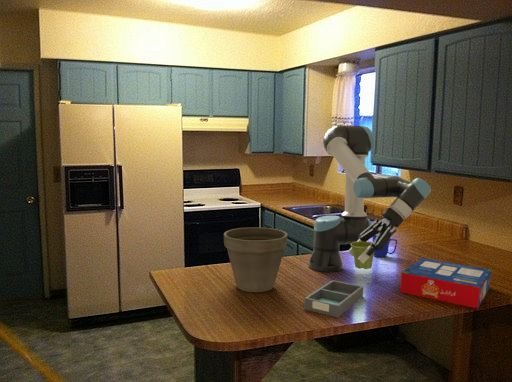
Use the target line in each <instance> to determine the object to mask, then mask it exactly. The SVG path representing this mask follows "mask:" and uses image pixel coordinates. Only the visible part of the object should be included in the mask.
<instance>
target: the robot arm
mask: <svg viewBox="0 0 512 382" xmlns="http://www.w3.org/2000/svg"><path fill="white" fill-rule="evenodd" d="M374 136H375V135H374V133H373V132H372V130H371V129H370V128H369V127H368V126H363V125H342V124H340V125H339V124H338V125H334V126H332V127H330V128H329V129H327V131H325V134H324V136H323V140H322V145H323V147H324V151H326V152H327V154H328V155H329V156H330V157H332V158H334V159H335V160H336V162H337V163H338V164H339V166H340V167H341V168H342V170H343V171H344V172H345V180H344V181H345V185H344V187H345V188H344V191H345V192H344V211H343V212H342V213H340V214H341V217H340V216H338V215H324V216H323V215H322V216H319V217H317V218H316V219H315V221H314V227H313V251H312V253H311V256H310V259H309V261H308V267H309V268H310V269H312V270H313V271H317V272H323V273H324V272H326V273H333V272H340V271H341V270H342V269H343V261H342V257H341V253H340V246H341V245H351V243H353V242H362V241H363V242H369V240H370V239H373V236H375V235H377V237H376V239H375V240H374V242H373V241H372V243H373V244H370V245H371V246H372V247H371V246H369V247H368V248H367V249H366V250H365V251H364V252H363V253H362V254H361V255H360V256H359V257H358V259H359V260H360V261H361V262H362V263H363V264H364V263H365V262H366V260H367V259H368V258H369V257H370V256H371V255H372V254H373V253H374V252H375V251H377V250H379V251H380V250H382V248H383V247H384V246H385V244H386V243H387V242H388V240H389V239H391V237H392V236H393V235H394V234H395V233H396V232H397V229H396V228H399V227H400V226H401V224H402V223H404V220H406V219H407V218H408V217H410V216H411V214H412V213H413V212H414V211H415V209H416V208H417V207H419V205H420V204H422V203H423V201H424V200H426V198H427V197H428V196H429V195H430V193H431V192H432V188H431V186H430V185H429V184H428V183H427V182H426V181H425V180H424V179H422V178H420V177H417V178H414V179H413V180H411V181H409V180H407V179H405V178H402V177H400V176H396V175H389V176H387V177H375V176H374V175H373V174H372V172H371V171H369V169H368V168H367V167H366V162H365V161H366V159H367V158H368V157H369V152H371V151H372V150H373V149H374V145H375V137H374ZM373 198H374V199H375V198H376V199H377V198H383V199H384V198H395V199H394V200H393V202H391V203H390V205H389V207H386V209H385V210H384V211H383V212H382V214H381V215H382V217H383V218H382V219H380V220H379V219H378V218H377V219H375V220H374V221H373V222H372V221H371V220H370V219H369V218H368V214H367V213H366V212H365V210H364V209H365V199H373ZM347 252H348V253H349V254H350V256H352V257H354V255H353V249H352V246H350V248H349V249H348V251H347Z"/></svg>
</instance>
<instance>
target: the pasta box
mask: <svg viewBox="0 0 512 382" xmlns="http://www.w3.org/2000/svg"><path fill="white" fill-rule="evenodd" d="M491 277H492V269H490V268H484V267H479V266H471V265H466V264H462V263H461V264H459V263H454V262H450V261H448V262H447V261H442V260H436V259H431V258H425V257H420V258H419V259H417V260H416V261H415V262H414V263H412V264H410V265H409V266H408V267H407V268H405V269H404V270H403V271H402V272H401V274H400V288H399V290H400V293H403V294H407V295H408V294H409V295H414V296H418V297H422V298H427V299H432V300H437V301H440V300H441V301H440V302H445V301H446V302H445V303H449V304H456V305H458V306H459V305H460V306H465V307H469V308H474V309H479V308H480V306H481V304H482V303H483V301H484V299H485V297H486V295H487V294H488V292H489V291H490V289H491V282H492V281H491Z"/></svg>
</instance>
